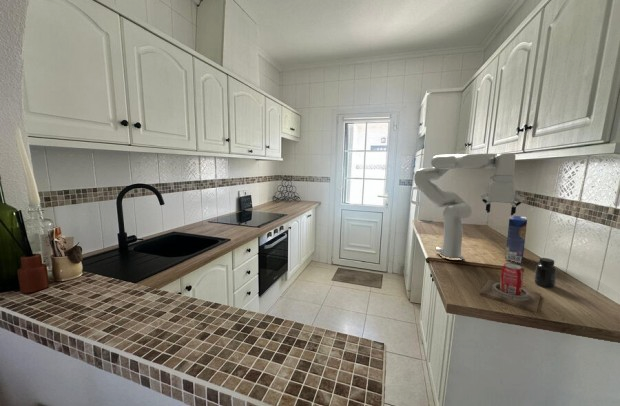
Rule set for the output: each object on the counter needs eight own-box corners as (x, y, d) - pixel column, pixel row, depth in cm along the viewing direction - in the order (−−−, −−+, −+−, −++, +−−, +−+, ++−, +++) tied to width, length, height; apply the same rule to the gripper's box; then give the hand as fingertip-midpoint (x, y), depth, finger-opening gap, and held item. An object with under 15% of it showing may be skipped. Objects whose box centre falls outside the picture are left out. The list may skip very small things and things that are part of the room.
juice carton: (522, 263, 137) (527, 220, 133) (505, 260, 142) (509, 219, 138) (522, 256, 146) (526, 216, 142) (506, 254, 151) (510, 215, 147)
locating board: (479, 294, 106) (480, 288, 106) (489, 282, 117) (489, 276, 117) (536, 312, 93) (536, 305, 93) (540, 296, 104) (541, 290, 104)
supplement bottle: (548, 282, 116) (551, 257, 114) (558, 289, 109) (562, 263, 107) (530, 280, 118) (533, 256, 116) (539, 287, 111) (542, 261, 109)
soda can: (513, 288, 108) (515, 262, 106) (525, 297, 101) (528, 269, 99) (495, 288, 109) (498, 262, 107) (506, 296, 102) (509, 269, 100)
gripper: (480, 179, 125) (477, 212, 127) (525, 180, 112) (521, 217, 115) (484, 178, 130) (481, 210, 132) (527, 179, 117) (523, 214, 120)
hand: (499, 213), depth 124 cm, fingers open, 9 cm apart
